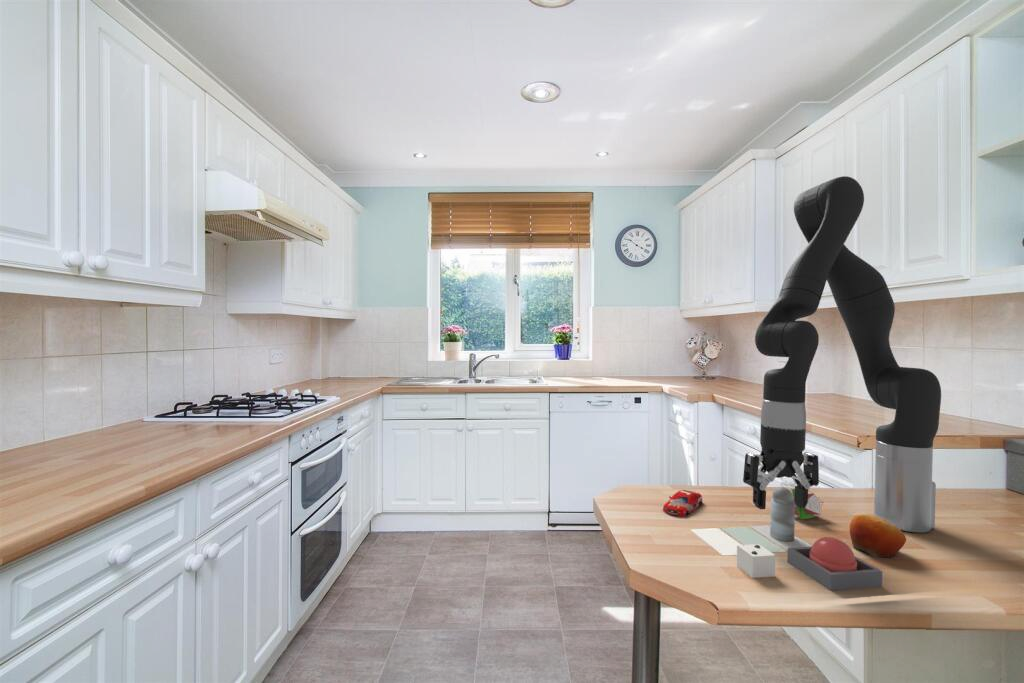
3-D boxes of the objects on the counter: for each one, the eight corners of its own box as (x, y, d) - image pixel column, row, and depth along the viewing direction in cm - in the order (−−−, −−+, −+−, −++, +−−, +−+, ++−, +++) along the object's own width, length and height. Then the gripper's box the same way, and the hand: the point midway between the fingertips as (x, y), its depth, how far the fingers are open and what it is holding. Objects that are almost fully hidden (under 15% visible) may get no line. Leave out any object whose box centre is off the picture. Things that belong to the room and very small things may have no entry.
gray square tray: (833, 562, 81) (834, 545, 81) (882, 590, 72) (882, 571, 72) (787, 565, 79) (787, 548, 79) (830, 594, 71) (831, 575, 70)
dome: (833, 564, 79) (834, 529, 79) (867, 584, 73) (868, 546, 73) (799, 566, 78) (800, 531, 78) (831, 587, 72) (832, 548, 72)
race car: (683, 523, 98) (683, 504, 98) (659, 516, 102) (659, 498, 101) (706, 506, 107) (706, 489, 107) (683, 500, 111) (683, 484, 111)
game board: (775, 526, 96) (775, 523, 96) (822, 553, 84) (822, 550, 84) (687, 531, 93) (687, 528, 93) (723, 560, 81) (723, 556, 81)
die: (758, 567, 79) (758, 542, 79) (774, 579, 75) (775, 553, 75) (736, 568, 78) (737, 543, 78) (752, 581, 74) (752, 554, 74)
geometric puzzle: (770, 502, 104) (790, 480, 99) (792, 499, 106) (813, 477, 101) (793, 532, 98) (815, 510, 94) (816, 527, 101) (838, 506, 96)
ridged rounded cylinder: (784, 532, 92) (784, 484, 91) (799, 541, 88) (800, 490, 87) (765, 533, 91) (766, 484, 91) (780, 542, 87) (781, 491, 87)
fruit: (831, 541, 86) (847, 502, 87) (854, 557, 88) (869, 518, 90) (879, 561, 78) (895, 517, 80) (903, 577, 81) (918, 535, 82)
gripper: (801, 420, 94) (798, 499, 94) (736, 420, 92) (734, 501, 92) (831, 427, 86) (828, 514, 87) (762, 427, 85) (759, 516, 85)
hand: (779, 507), depth 89 cm, fingers open, 8 cm apart
